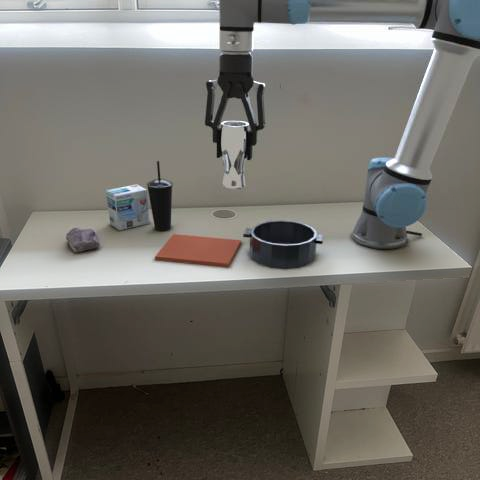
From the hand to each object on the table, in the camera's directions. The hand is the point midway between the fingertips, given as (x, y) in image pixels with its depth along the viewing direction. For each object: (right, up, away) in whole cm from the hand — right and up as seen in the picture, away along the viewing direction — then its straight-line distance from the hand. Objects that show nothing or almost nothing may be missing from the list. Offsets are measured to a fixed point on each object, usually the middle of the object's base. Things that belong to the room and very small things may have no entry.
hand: (234, 157), depth 125 cm
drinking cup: (-22, -12, +28) cm, 38 cm away
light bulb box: (-33, -11, +31) cm, 46 cm away
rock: (-42, -20, +16) cm, 49 cm away
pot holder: (-10, -21, +14) cm, 27 cm away
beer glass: (0, -6, +4) cm, 7 cm away
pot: (+13, -22, +13) cm, 29 cm away
